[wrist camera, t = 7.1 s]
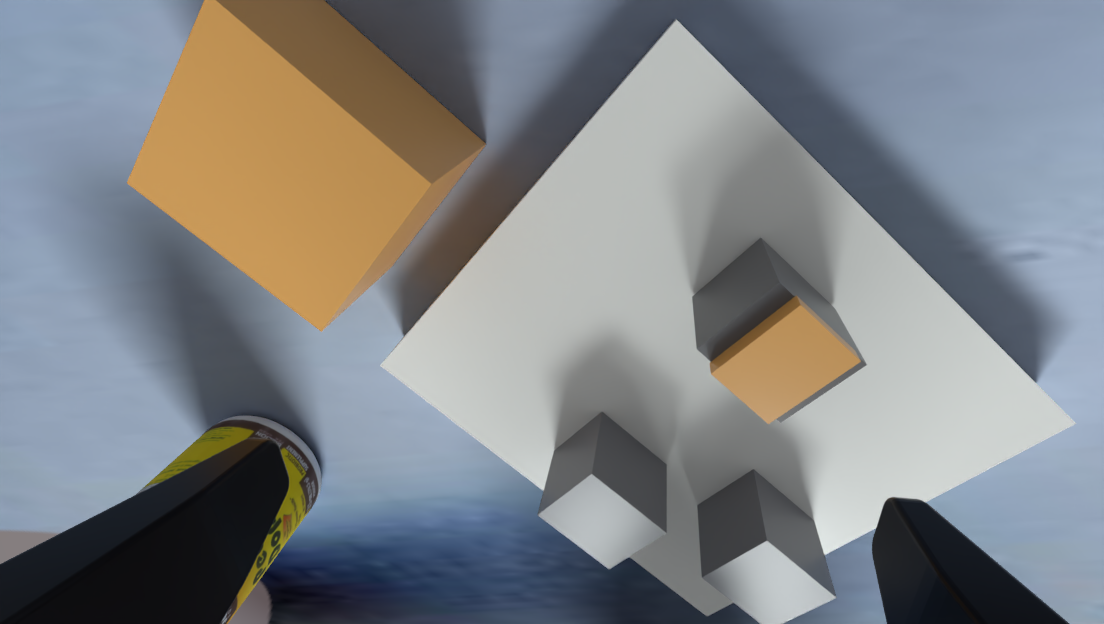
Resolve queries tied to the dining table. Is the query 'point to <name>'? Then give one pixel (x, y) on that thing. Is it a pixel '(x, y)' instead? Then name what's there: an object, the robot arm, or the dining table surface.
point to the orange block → (299, 151)
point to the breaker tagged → (771, 335)
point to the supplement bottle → (298, 497)
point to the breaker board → (684, 373)
